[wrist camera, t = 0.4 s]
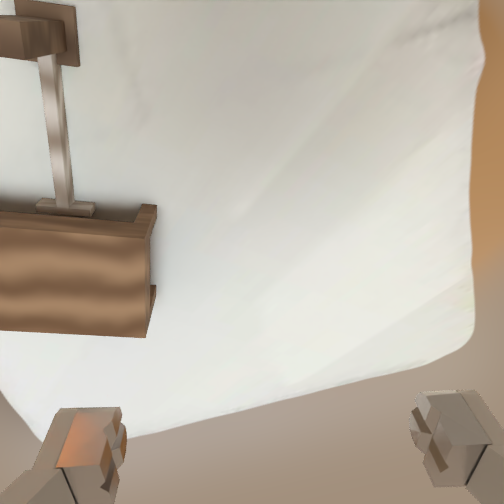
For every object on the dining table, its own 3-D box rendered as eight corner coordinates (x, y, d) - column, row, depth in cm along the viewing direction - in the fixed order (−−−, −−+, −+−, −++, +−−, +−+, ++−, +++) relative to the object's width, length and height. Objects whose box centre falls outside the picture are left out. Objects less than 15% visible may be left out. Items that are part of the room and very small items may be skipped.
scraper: (12, -3, 43) (-55, -10, 32) (80, 7, 44) (35, 3, 33) (43, 204, 55) (2, 247, 45) (95, 209, 56) (66, 252, 45)
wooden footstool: (-24, 188, 53) (-72, 221, 45) (156, 205, 56) (144, 238, 47) (-2, 284, 61) (-38, 328, 53) (156, 295, 64) (145, 338, 55)
